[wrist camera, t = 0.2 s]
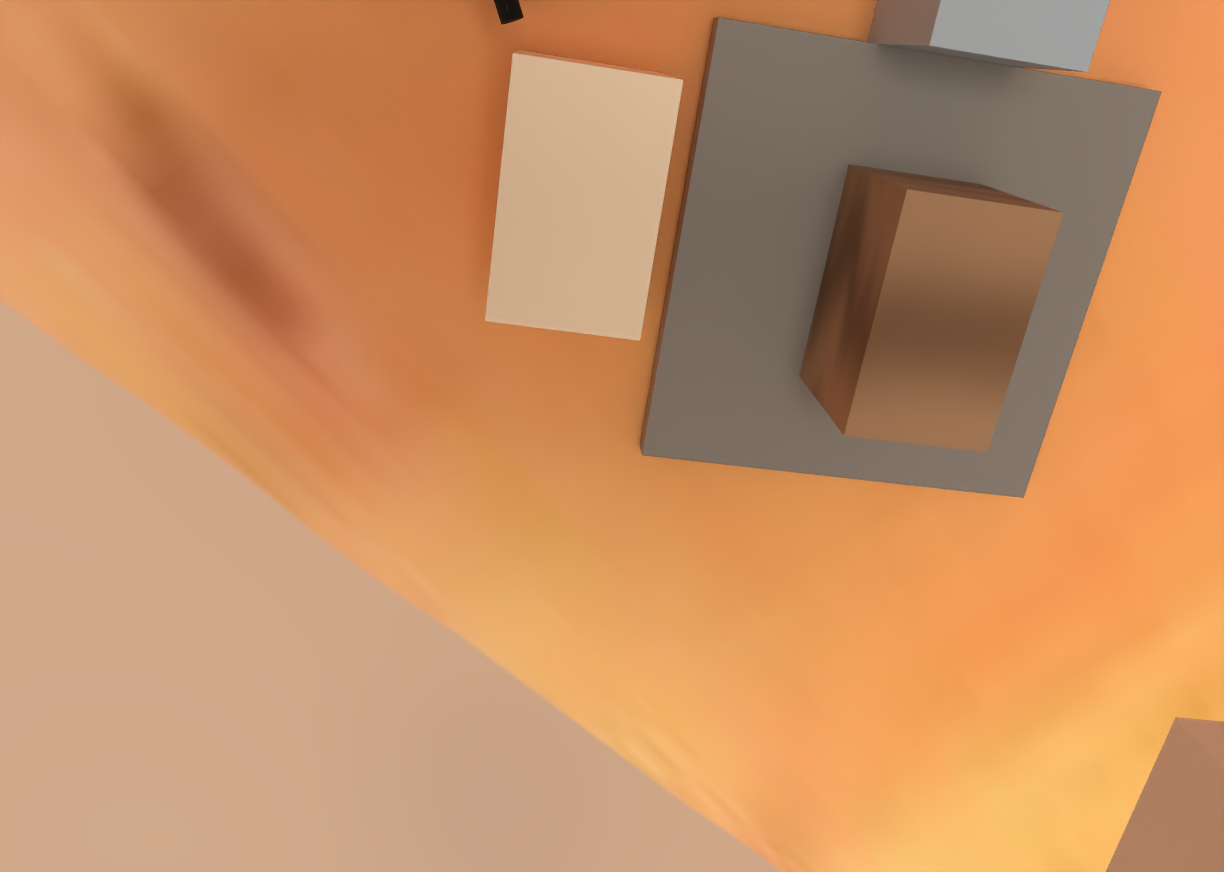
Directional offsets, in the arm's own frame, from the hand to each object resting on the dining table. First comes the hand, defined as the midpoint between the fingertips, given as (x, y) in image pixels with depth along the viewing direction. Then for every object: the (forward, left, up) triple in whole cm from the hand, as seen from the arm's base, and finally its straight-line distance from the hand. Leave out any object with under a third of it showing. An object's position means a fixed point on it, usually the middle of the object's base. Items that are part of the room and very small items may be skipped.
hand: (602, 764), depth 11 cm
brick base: (-1, +12, -26) cm, 29 cm away
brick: (-3, 0, -28) cm, 28 cm away
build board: (-1, +12, -27) cm, 30 cm away
